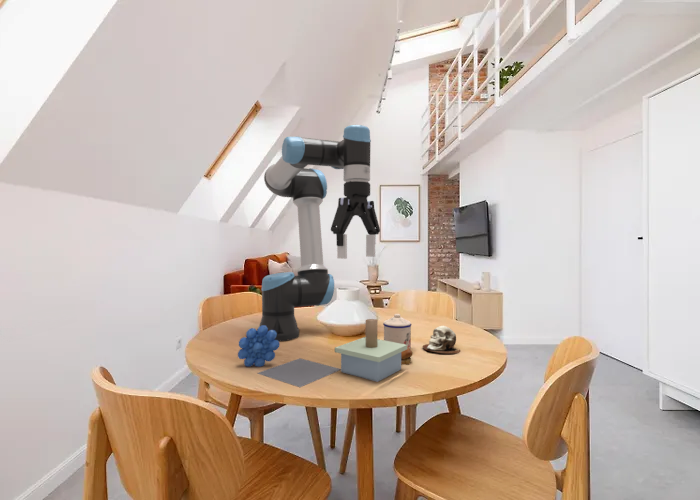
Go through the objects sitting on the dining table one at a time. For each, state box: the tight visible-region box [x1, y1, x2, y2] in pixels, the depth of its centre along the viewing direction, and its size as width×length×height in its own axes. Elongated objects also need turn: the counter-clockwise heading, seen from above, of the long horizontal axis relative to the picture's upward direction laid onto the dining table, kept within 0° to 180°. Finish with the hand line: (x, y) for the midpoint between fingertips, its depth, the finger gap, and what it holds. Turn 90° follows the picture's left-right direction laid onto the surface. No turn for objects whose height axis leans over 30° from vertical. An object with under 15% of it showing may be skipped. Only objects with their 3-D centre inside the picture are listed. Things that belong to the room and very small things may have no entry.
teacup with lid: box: [382, 313, 412, 350], centre depth 127 cm, size 12×9×12 cm
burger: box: [401, 347, 413, 366], centre depth 114 cm, size 10×9×5 cm
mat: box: [256, 358, 341, 388], centre depth 104 cm, size 16×16×1 cm
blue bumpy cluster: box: [237, 325, 280, 368], centre depth 109 cm, size 12×7×12 cm, turn 92°
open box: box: [340, 352, 402, 383], centre depth 104 cm, size 12×12×6 cm
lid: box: [334, 318, 407, 362], centre depth 104 cm, size 14×14×8 cm
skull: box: [422, 325, 461, 355], centre depth 126 cm, size 12×10×10 cm
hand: (357, 257), depth 110 cm, fingers open, 13 cm apart
